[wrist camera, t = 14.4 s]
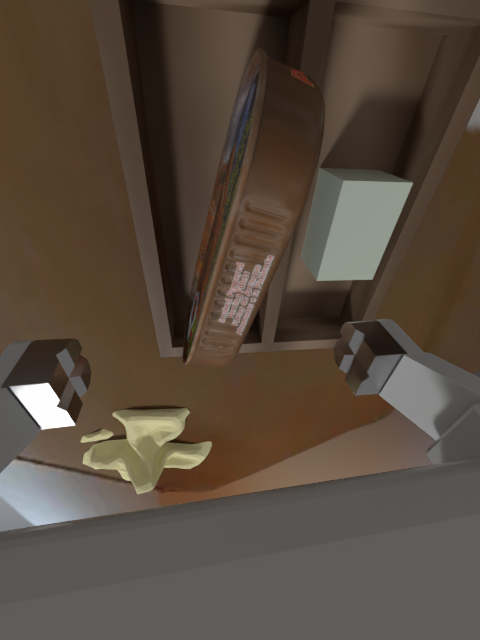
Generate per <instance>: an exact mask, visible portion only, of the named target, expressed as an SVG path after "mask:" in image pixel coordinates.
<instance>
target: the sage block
mask: <svg viewBox="0 0 480 640" xmlns="http://www.w3.org/2000/svg"><path fill="white" fill-rule="evenodd" d="M412 185H413V182H410V181H408V180H405V179H402V178H400V177H397V176H394V175H392V174H389V173H386V172H383V171H381V170H370V169H342V168H319V173H318V177H317V182H316V187H315V191H314V196H313V201H312V206H311V210H310V215H309V220H308V224H307V229H306V234H305V239H304V243H303V248H302V253H301V258H302V260H303V261H304V263H305V264H306V266H307V267H308V269H309V270H310V272H311V273H312V275H313V276H314V278H315V279H316V281H335V280H373V277H374V275H375V272H376V270H377V268H378V265H379V263H380V261H381V258H382V256H383V253H384V251H385V249H386V246H387V244H388V242H389V239H390V237H391V235H392V232H393V230H394V227H395V225H396V223H397V220H398V218H399V216H400V213H401V211H402V208H403V206H404V204H405V201H406V199H407V197H408V194H409V192H410V189H411V187H412Z"/></svg>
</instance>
